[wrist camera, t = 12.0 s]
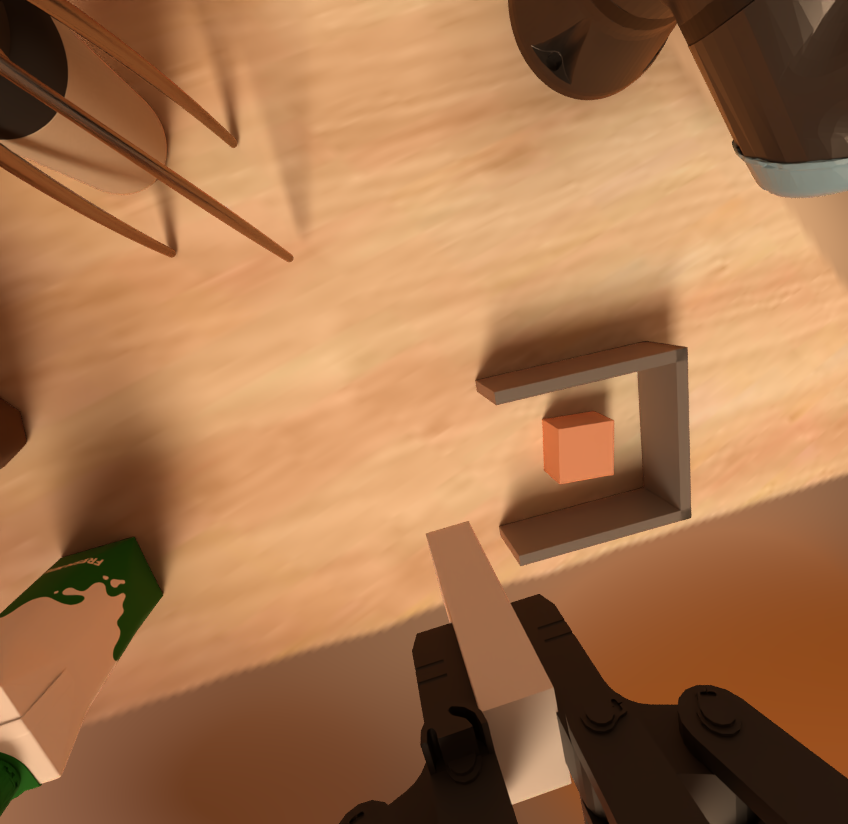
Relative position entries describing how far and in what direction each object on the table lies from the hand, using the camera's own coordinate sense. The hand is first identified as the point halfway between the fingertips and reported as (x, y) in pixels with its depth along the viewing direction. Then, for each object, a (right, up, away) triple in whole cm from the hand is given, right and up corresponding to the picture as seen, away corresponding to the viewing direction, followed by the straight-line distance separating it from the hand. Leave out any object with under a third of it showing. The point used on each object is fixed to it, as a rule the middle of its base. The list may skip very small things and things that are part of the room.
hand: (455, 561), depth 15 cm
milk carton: (-32, -11, +29) cm, 45 cm away
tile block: (+15, +2, +34) cm, 37 cm away
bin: (+15, +2, +34) cm, 37 cm away
